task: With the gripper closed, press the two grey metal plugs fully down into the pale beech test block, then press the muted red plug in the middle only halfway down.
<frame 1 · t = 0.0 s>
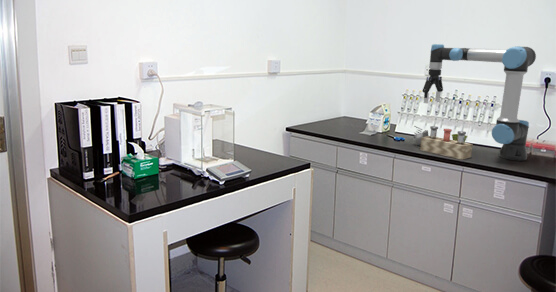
hand: (431, 102, 292), 28 cm above the countertop, tool pointing down, fingers open, 13 cm apart
plug far: (433, 134, 279), point 10 cm above the countertop, slide at 0.0 cm
plant pot: (457, 149, 289), on the countertop
red plug: (446, 137, 273), point 10 cm above the countertop, slide at 0.0 cm
test block: (444, 153, 275), on the countertop
plug near: (460, 139, 266), point 10 cm above the countertop, slide at 0.0 cm
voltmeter: (419, 143, 301), on the countertop
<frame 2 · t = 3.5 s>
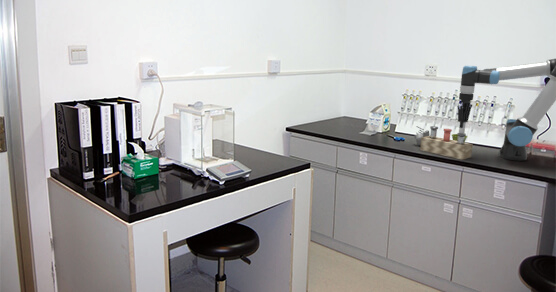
hand: (461, 133, 265), 14 cm above the countertop, tool pointing down, fingers closed
plug near: (460, 141, 266), point 9 cm above the countertop, slide at 1.0 cm, touching gripper
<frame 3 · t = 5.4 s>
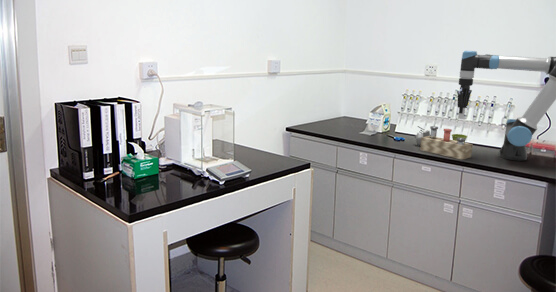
hand: (460, 118, 264), 23 cm above the countertop, tool pointing down, fingers closed
plug near: (460, 146, 267), point 6 cm above the countertop, slide at 4.0 cm
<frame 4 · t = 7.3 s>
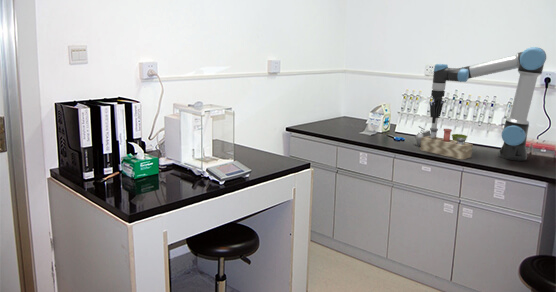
hand: (433, 128, 279), 14 cm above the countertop, tool pointing down, fingers closed
plug far: (433, 136, 280), point 9 cm above the countertop, slide at 1.1 cm, touching gripper
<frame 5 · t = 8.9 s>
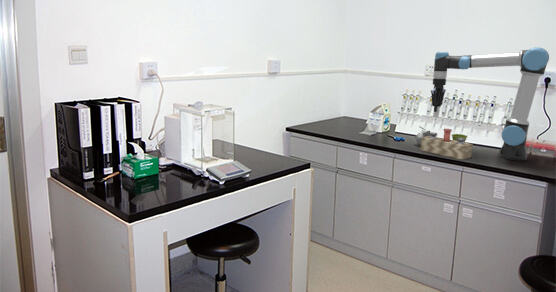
hand: (435, 116, 277), 21 cm above the countertop, tool pointing down, fingers closed
plug far: (432, 140, 280), point 6 cm above the countertop, slide at 4.0 cm
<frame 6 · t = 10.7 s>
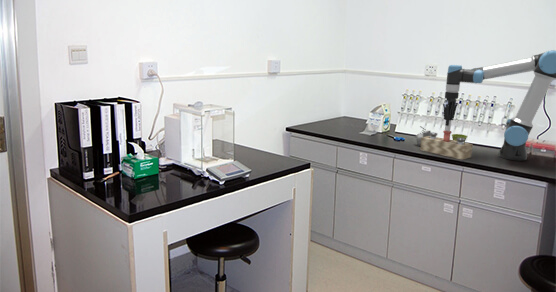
hand: (447, 130, 272), 14 cm above the countertop, tool pointing down, fingers closed
red plug: (446, 138, 273), point 9 cm above the countertop, slide at 1.1 cm, touching gripper
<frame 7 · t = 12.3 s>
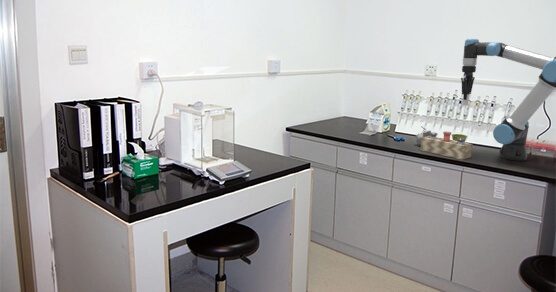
hand: (465, 105, 273), 29 cm above the countertop, tool pointing down, fingers closed
red plug: (446, 140, 273), point 8 cm above the countertop, slide at 1.8 cm
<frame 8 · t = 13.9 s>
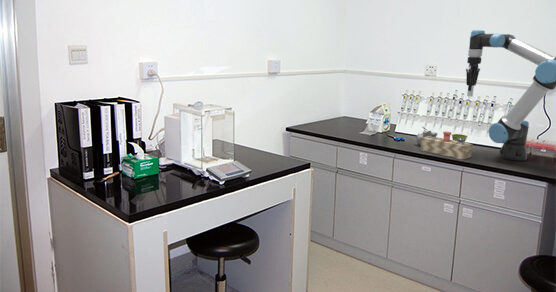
hand: (469, 96, 275), 34 cm above the countertop, tool pointing down, fingers closed
at the end: plug near slide at 4.0 cm; plug far slide at 4.0 cm; red plug slide at 1.8 cm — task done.
